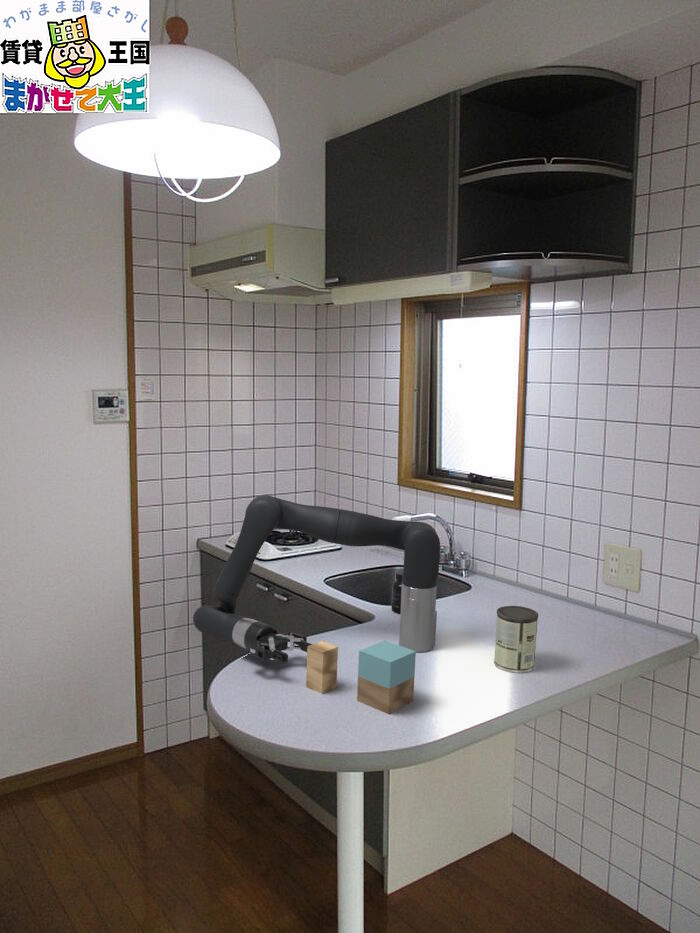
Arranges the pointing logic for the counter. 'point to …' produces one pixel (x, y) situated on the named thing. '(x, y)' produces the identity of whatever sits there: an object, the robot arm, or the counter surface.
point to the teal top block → (386, 664)
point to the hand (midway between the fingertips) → (300, 653)
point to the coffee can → (515, 639)
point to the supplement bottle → (397, 593)
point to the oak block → (322, 667)
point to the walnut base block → (385, 695)
